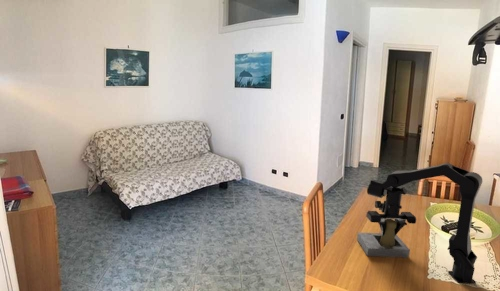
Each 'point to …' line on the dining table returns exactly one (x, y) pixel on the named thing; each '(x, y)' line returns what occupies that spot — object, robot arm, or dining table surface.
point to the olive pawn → (389, 233)
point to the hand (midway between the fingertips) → (388, 235)
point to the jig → (375, 249)
